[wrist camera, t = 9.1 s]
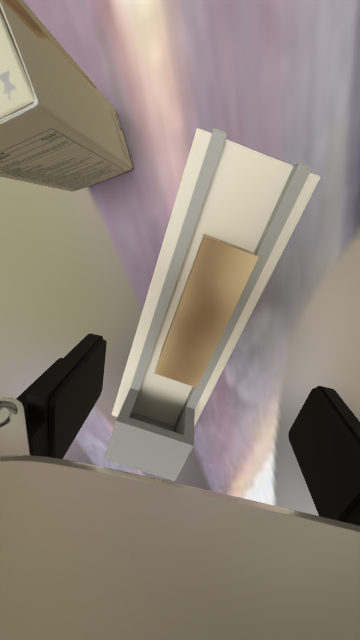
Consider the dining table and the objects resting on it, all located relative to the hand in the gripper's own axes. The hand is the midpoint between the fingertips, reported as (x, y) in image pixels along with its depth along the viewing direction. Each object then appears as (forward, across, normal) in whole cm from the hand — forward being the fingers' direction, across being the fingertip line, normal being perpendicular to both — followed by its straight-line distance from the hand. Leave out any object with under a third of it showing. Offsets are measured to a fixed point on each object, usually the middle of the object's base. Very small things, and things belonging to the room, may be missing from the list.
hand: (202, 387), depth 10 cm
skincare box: (+14, +12, -10) cm, 21 cm away
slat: (+13, 0, 0) cm, 13 cm away
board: (+14, 0, +3) cm, 14 cm away
